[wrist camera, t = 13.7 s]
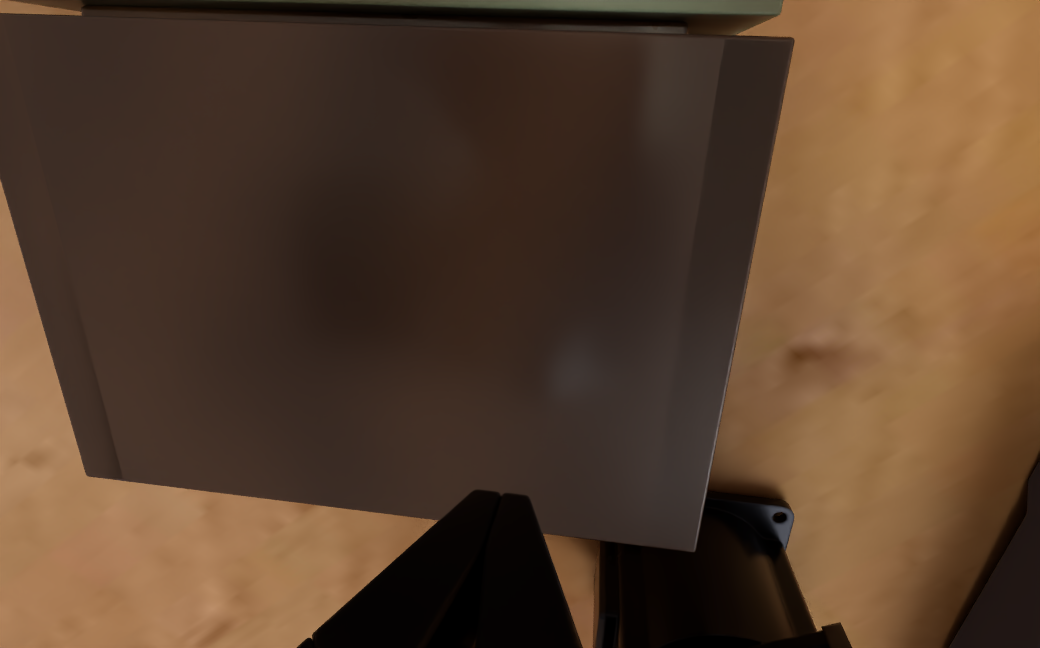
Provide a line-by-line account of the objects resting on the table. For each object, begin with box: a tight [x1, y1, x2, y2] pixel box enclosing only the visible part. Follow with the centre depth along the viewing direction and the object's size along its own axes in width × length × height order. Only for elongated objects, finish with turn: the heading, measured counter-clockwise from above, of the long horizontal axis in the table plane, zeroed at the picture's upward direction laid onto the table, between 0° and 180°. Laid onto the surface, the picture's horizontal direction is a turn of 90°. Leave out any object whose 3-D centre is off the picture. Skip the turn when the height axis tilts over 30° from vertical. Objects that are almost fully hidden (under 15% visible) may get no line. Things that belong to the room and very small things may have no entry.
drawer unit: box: [0, 13, 794, 552], centre depth 15 cm, size 13×9×10 cm
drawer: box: [10, 0, 783, 35], centre depth 11 cm, size 13×10×3 cm
